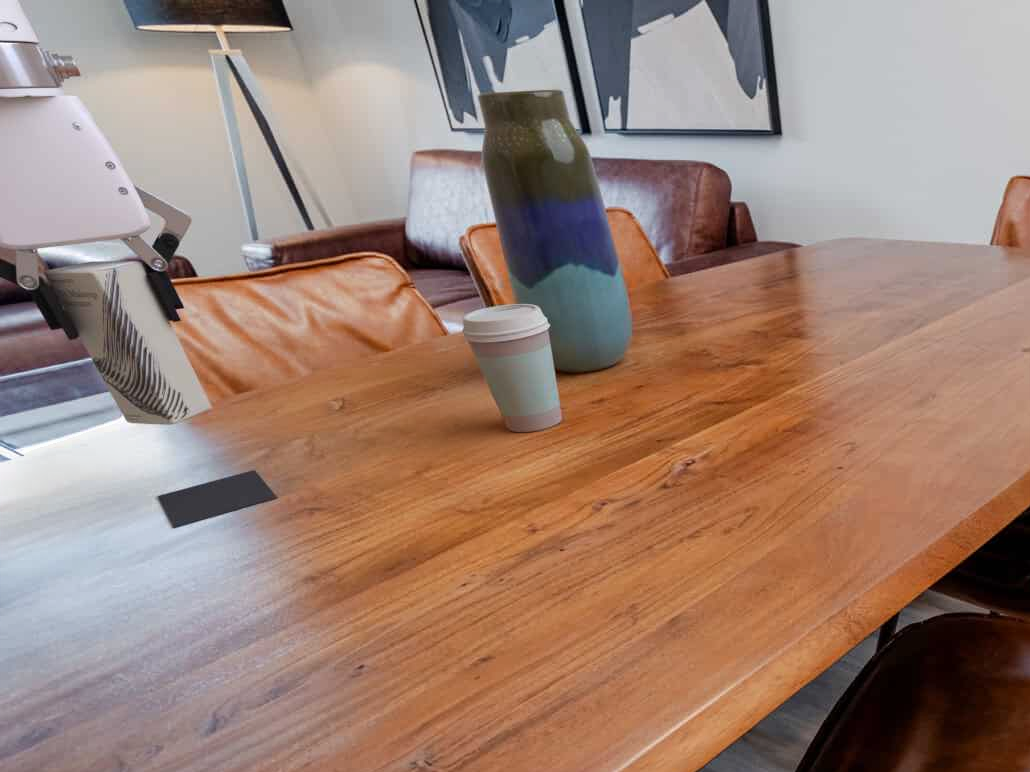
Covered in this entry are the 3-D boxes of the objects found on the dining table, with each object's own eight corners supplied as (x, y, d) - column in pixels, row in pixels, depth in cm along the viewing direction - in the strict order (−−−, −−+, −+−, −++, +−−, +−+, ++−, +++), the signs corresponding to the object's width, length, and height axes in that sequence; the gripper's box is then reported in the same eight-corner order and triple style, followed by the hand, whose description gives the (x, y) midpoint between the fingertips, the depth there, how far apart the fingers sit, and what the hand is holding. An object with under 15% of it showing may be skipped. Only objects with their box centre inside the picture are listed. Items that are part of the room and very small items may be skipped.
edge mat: (173, 528, 72) (173, 527, 72) (157, 496, 79) (157, 496, 79) (277, 497, 77) (277, 496, 77) (254, 470, 83) (254, 469, 83)
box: (126, 425, 72) (35, 271, 65) (171, 408, 76) (89, 260, 69) (176, 426, 71) (89, 269, 64) (219, 408, 75) (141, 258, 68)
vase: (555, 387, 102) (473, 93, 86) (520, 365, 112) (440, 96, 95) (658, 362, 109) (601, 86, 93) (617, 344, 119) (559, 90, 102)
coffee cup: (584, 408, 95) (556, 300, 89) (560, 434, 88) (528, 319, 81) (510, 412, 95) (477, 305, 89) (481, 439, 88) (442, 324, 81)
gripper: (130, 74, 67) (236, 302, 77) (-180, 83, 57) (-14, 344, 67) (142, 69, 62) (253, 313, 72) (-193, 79, 52) (-13, 360, 62)
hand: (124, 326), depth 69 cm, fingers closed on box, 6 cm apart
